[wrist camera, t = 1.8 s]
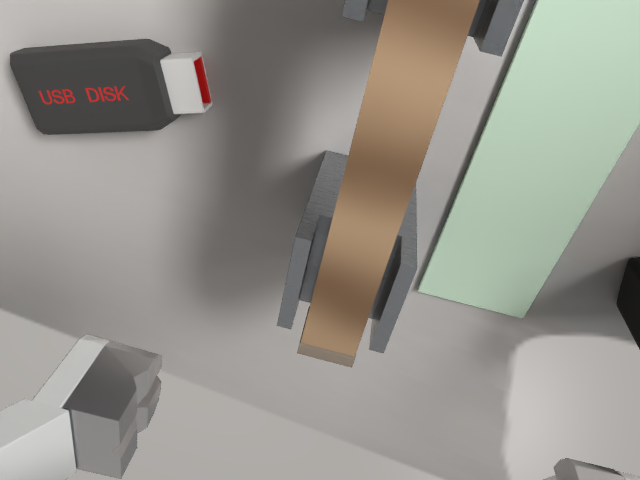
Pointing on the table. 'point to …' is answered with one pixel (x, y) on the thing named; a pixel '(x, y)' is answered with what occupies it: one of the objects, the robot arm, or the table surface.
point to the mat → (541, 154)
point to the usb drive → (110, 86)
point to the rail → (383, 166)
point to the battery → (631, 298)
